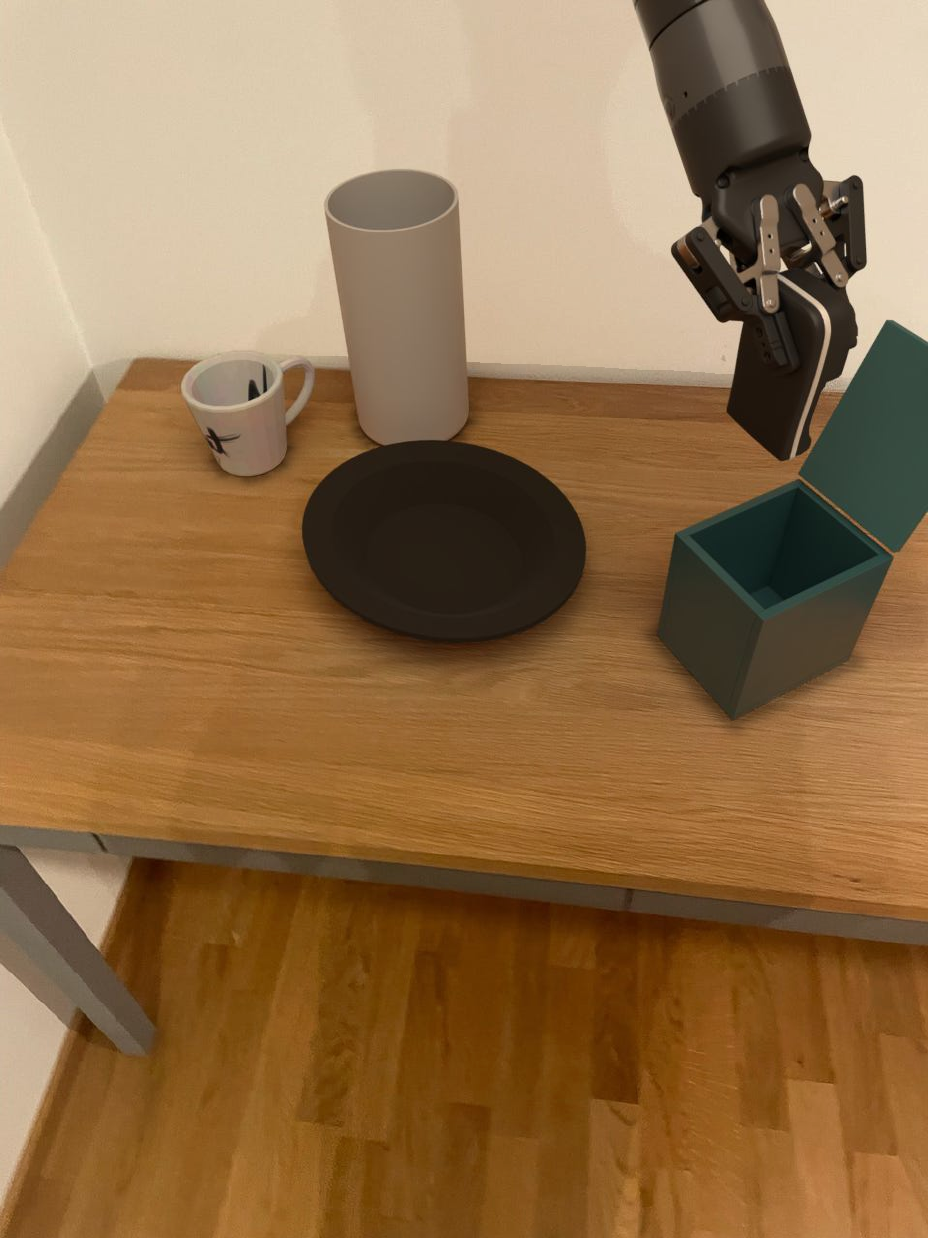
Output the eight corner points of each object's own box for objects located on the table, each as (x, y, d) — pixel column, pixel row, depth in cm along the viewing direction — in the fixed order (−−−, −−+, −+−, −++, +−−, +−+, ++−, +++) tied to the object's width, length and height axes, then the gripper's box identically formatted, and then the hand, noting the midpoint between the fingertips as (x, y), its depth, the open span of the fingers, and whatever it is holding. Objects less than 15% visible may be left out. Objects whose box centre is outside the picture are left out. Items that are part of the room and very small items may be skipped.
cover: (1004, 393, 61) (1010, 393, 62) (886, 319, 68) (892, 319, 68) (893, 553, 70) (899, 552, 70) (797, 473, 76) (803, 473, 76)
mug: (187, 455, 102) (160, 378, 95) (296, 396, 108) (280, 320, 101) (238, 500, 97) (215, 423, 89) (351, 436, 103) (337, 359, 96)
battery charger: (826, 451, 64) (874, 302, 56) (781, 468, 63) (823, 320, 55) (764, 397, 69) (799, 251, 60) (721, 413, 68) (751, 266, 59)
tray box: (732, 720, 77) (763, 620, 67) (656, 635, 83) (674, 532, 73) (848, 660, 80) (894, 556, 70) (767, 582, 86) (799, 477, 77)
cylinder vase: (358, 390, 109) (324, 174, 90) (463, 380, 109) (452, 163, 90) (360, 458, 101) (323, 237, 82) (474, 447, 101) (464, 225, 82)
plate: (258, 566, 91) (245, 525, 86) (433, 449, 101) (429, 407, 97) (460, 730, 77) (456, 690, 73) (638, 575, 88) (644, 533, 83)
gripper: (664, 91, 52) (763, 384, 54) (859, 37, 56) (944, 312, 58) (605, 154, 59) (694, 410, 61) (781, 101, 63) (859, 344, 65)
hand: (815, 360), depth 59 cm, fingers closed on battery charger, 4 cm apart
